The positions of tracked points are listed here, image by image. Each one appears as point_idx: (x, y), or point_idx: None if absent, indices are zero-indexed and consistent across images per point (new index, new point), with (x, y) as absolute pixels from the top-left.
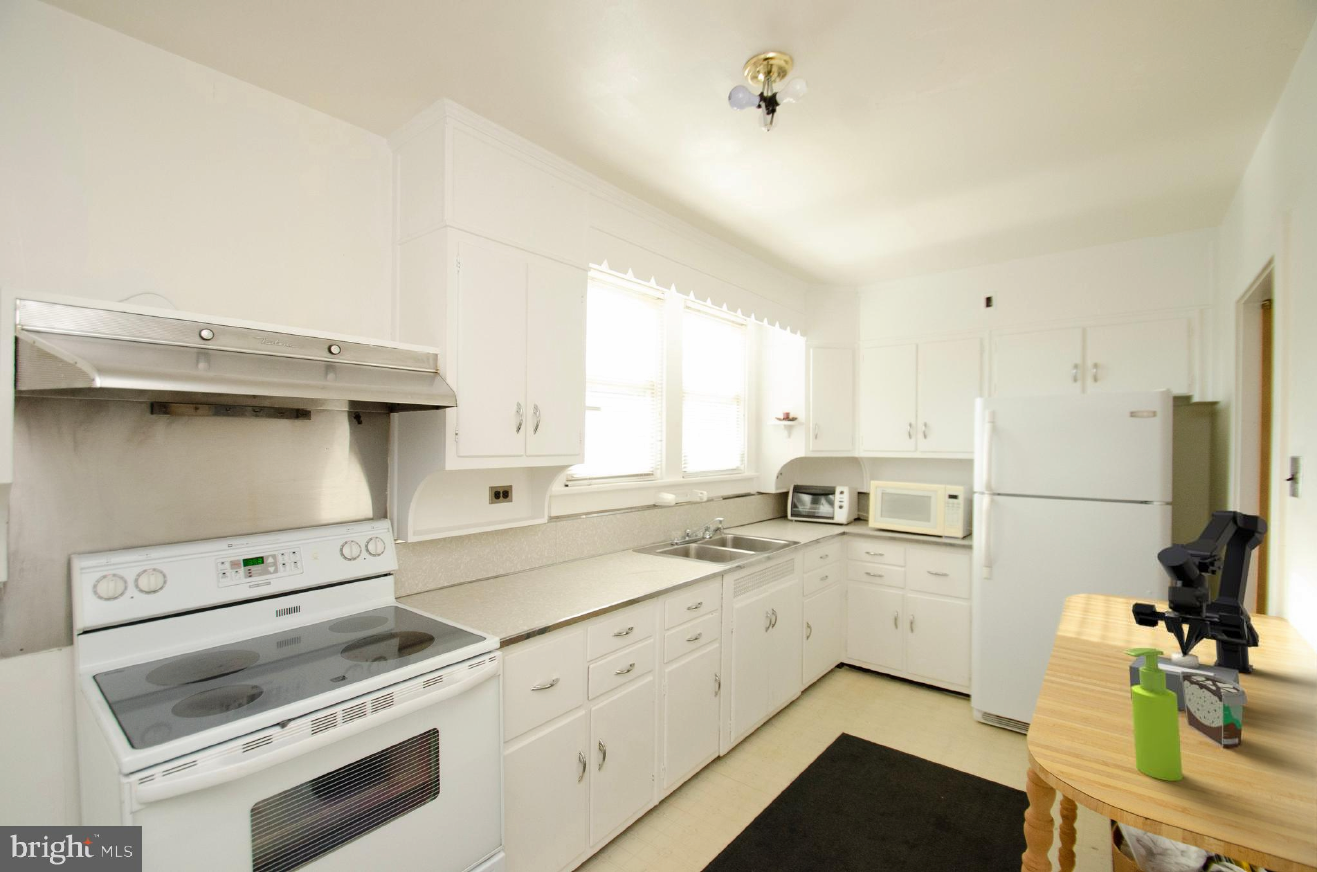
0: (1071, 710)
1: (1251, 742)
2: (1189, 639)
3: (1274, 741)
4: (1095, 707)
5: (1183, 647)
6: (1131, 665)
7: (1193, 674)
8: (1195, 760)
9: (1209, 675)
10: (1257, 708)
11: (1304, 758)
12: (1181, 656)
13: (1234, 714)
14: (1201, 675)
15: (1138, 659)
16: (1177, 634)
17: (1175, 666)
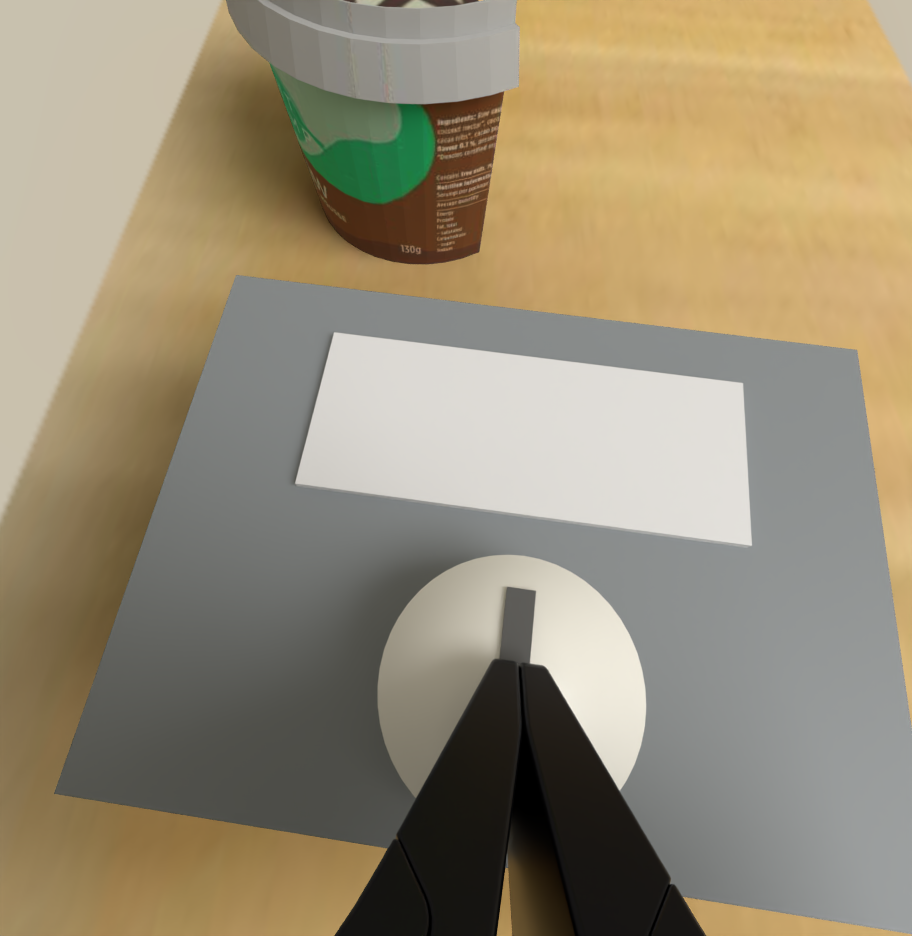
0: (865, 171)
1: (285, 210)
2: (452, 815)
3: (203, 262)
4: (810, 250)
5: (531, 704)
6: (848, 369)
7: (446, 21)
8: None
9: (355, 7)
10: None
11: (156, 166)
12: (538, 600)
13: None
14: (401, 21)
15: (871, 608)
16: (675, 923)
17: (570, 517)
